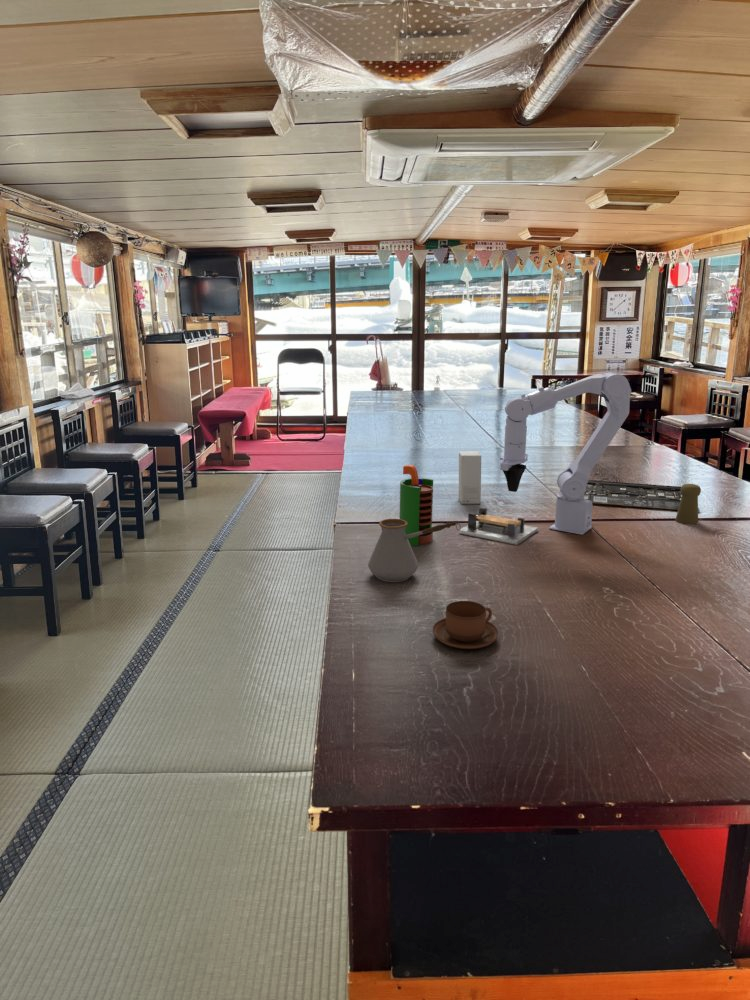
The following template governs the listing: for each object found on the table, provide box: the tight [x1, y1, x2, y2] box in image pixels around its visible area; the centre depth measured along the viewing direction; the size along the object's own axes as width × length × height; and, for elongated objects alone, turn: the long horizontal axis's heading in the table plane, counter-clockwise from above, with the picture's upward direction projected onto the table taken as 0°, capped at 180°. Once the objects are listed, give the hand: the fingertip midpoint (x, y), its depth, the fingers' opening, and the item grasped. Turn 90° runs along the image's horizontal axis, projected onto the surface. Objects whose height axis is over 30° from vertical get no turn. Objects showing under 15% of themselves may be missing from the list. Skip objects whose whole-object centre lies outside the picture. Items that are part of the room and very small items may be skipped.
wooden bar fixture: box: [458, 507, 539, 546], centre depth 186 cm, size 17×14×5 cm
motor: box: [399, 464, 434, 547], centre depth 179 cm, size 10×9×20 cm
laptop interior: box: [583, 479, 700, 512], centre depth 221 cm, size 35×28×2 cm
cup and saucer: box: [432, 600, 499, 650], centre depth 126 cm, size 12×12×6 cm
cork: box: [674, 483, 702, 525], centre depth 194 cm, size 6×6×11 cm
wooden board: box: [476, 513, 521, 527], centre depth 187 cm, size 13×5×1 cm, turn 55°
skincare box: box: [458, 450, 482, 505], centre depth 216 cm, size 8×7×16 cm
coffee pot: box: [367, 518, 462, 583], centre depth 153 cm, size 21×12×15 cm, turn 66°
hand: (512, 490), depth 189 cm, fingers closed
